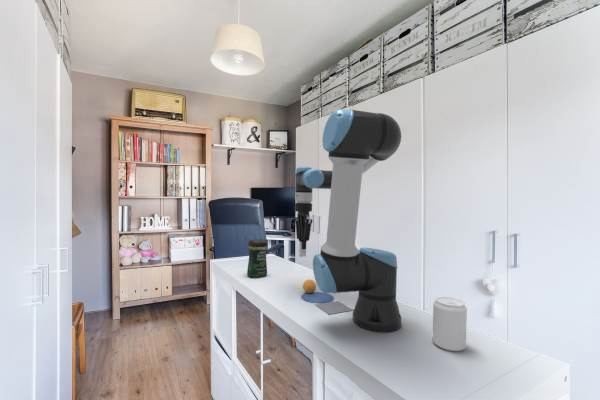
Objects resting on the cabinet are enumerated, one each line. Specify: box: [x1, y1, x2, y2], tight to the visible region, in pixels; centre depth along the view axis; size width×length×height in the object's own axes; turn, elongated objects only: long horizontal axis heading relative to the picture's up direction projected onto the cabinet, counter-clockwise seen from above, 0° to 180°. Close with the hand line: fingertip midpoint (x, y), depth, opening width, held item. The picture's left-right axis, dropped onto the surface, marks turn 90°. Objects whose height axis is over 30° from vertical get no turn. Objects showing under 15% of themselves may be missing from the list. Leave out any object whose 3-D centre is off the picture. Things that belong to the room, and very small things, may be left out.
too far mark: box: [314, 300, 354, 316], centre depth 107 cm, size 10×10×1 cm
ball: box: [302, 279, 317, 293], centre depth 123 cm, size 6×6×6 cm
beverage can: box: [432, 296, 468, 352], centre depth 81 cm, size 8×8×12 cm
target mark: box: [300, 291, 335, 304], centre depth 118 cm, size 13×13×1 cm
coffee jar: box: [246, 238, 269, 279], centre depth 148 cm, size 10×8×19 cm
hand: (302, 256), depth 130 cm, fingers closed
